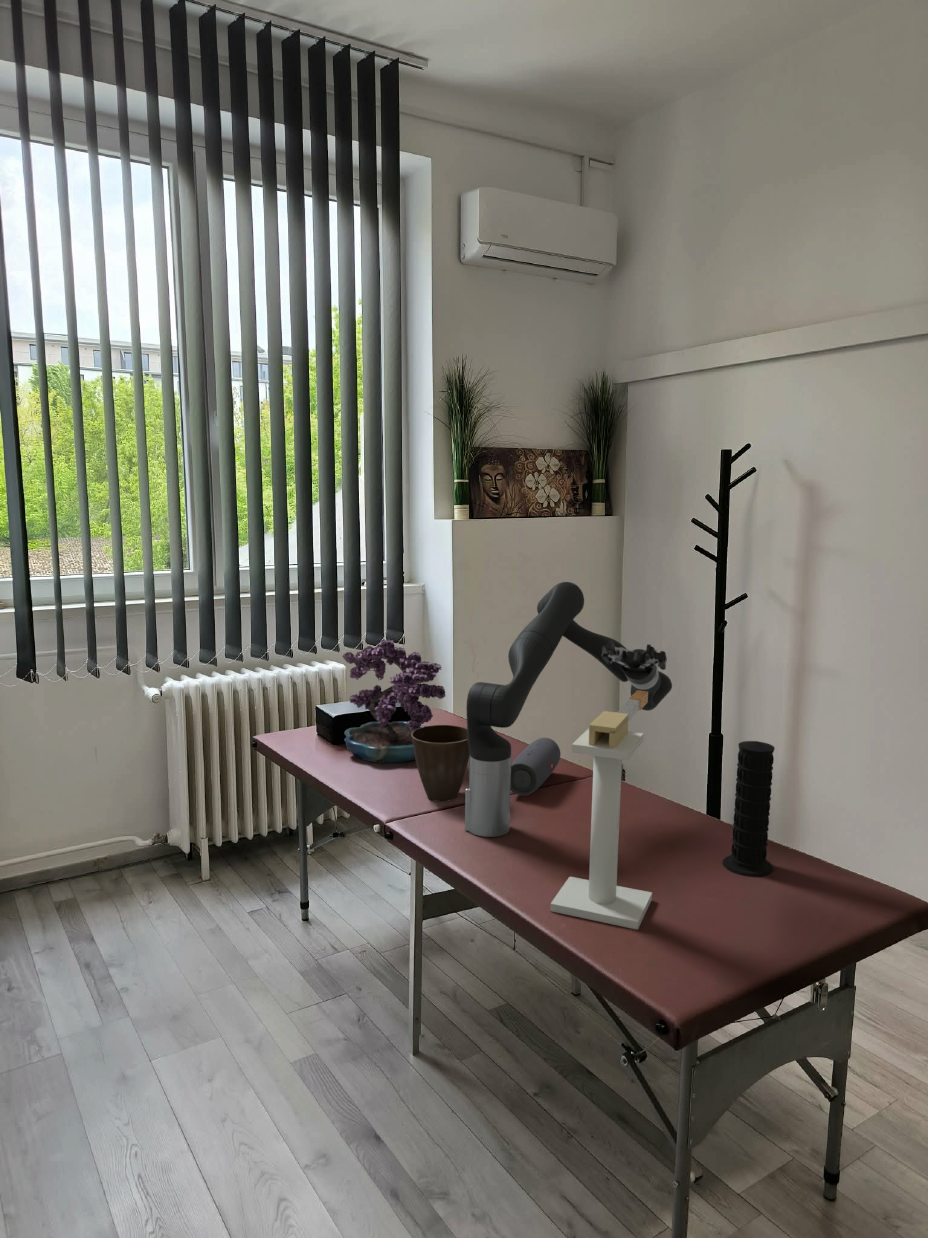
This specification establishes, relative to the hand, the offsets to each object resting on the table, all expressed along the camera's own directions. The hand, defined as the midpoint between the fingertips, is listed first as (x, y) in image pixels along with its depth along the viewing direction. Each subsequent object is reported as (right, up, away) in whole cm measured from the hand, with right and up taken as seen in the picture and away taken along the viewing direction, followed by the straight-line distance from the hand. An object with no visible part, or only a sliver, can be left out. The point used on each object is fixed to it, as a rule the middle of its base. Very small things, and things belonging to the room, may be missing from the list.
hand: (628, 646), depth 197 cm
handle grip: (+22, -44, -15) cm, 52 cm away
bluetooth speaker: (-19, -36, +30) cm, 51 cm away
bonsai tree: (-56, -32, +53) cm, 83 cm away
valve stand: (-11, -47, -32) cm, 58 cm away
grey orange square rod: (-4, -13, -23) cm, 27 cm away
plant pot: (-42, -38, +22) cm, 60 cm away
